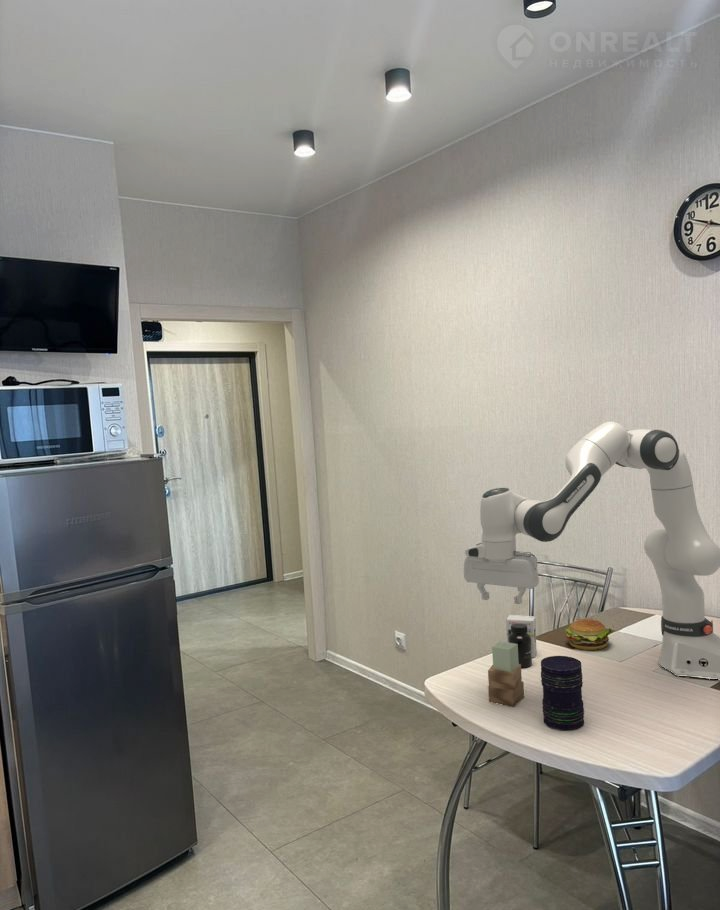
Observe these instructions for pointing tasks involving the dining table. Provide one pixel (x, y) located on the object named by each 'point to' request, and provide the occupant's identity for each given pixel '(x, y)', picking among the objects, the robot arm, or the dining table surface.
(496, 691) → the tower base
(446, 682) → the dining table surface
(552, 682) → the dark blue ribbed cylinder
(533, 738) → the dining table surface
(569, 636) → the food
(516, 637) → the supplement bottle
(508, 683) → the tower top
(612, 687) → the dining table surface
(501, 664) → the sage block
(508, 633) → the ink box
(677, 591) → the robot arm
